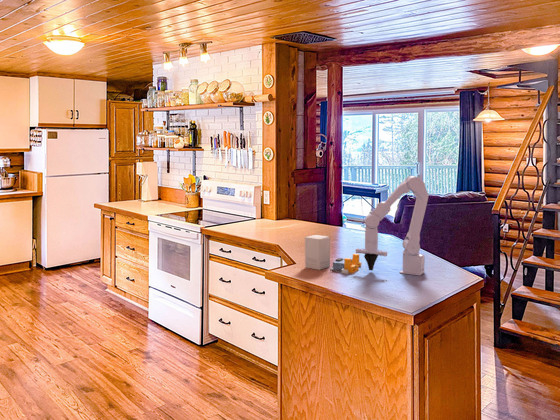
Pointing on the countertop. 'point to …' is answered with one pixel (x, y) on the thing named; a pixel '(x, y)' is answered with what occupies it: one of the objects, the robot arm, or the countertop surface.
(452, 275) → the countertop surface
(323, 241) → the supplement box
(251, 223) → the countertop surface
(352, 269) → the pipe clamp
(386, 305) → the countertop surface
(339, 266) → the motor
